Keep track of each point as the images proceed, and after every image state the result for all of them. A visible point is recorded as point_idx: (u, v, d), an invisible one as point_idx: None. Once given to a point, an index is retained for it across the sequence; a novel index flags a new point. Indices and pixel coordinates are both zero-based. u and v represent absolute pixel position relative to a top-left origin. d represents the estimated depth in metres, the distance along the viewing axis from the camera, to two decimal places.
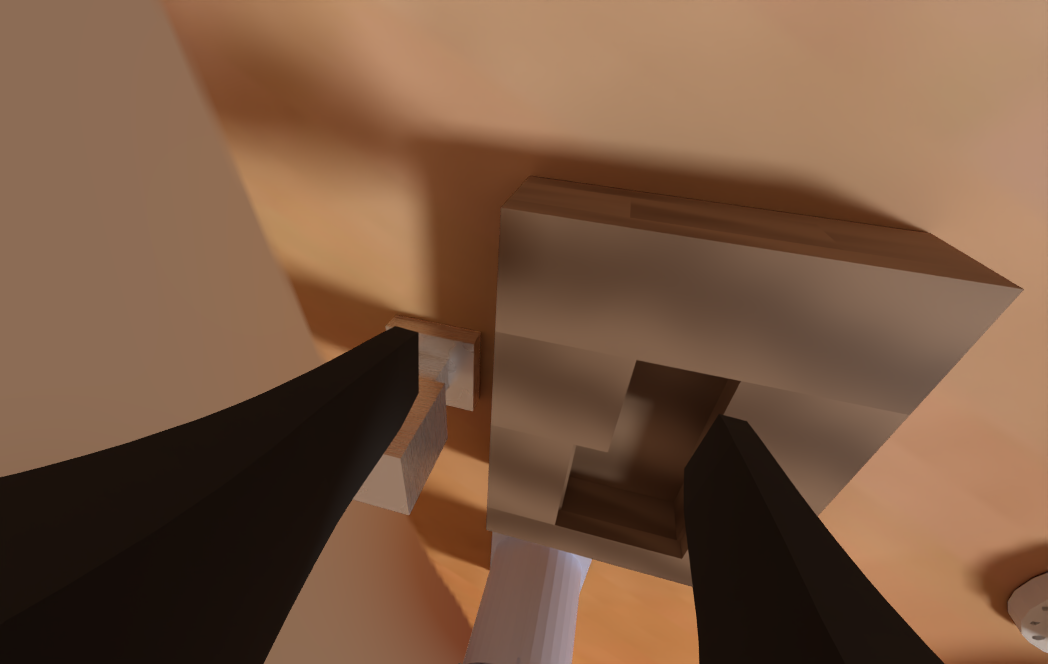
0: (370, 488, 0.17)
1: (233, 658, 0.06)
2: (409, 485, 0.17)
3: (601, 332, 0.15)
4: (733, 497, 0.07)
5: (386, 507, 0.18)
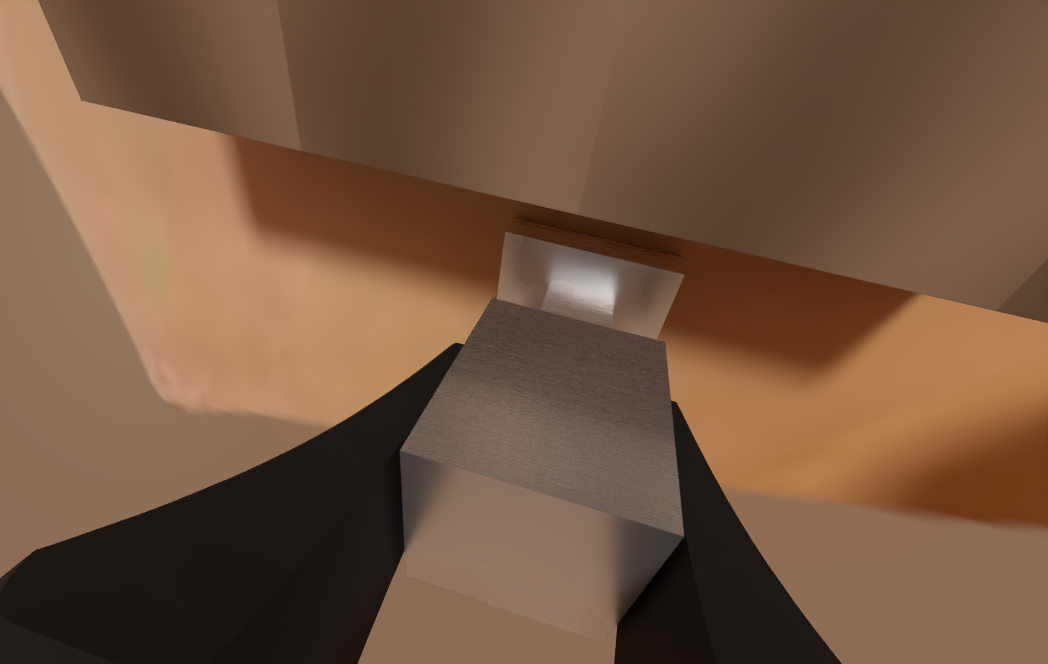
0: (561, 564, 0.06)
1: None
2: (557, 476, 0.06)
3: None
4: None
5: (648, 572, 0.06)
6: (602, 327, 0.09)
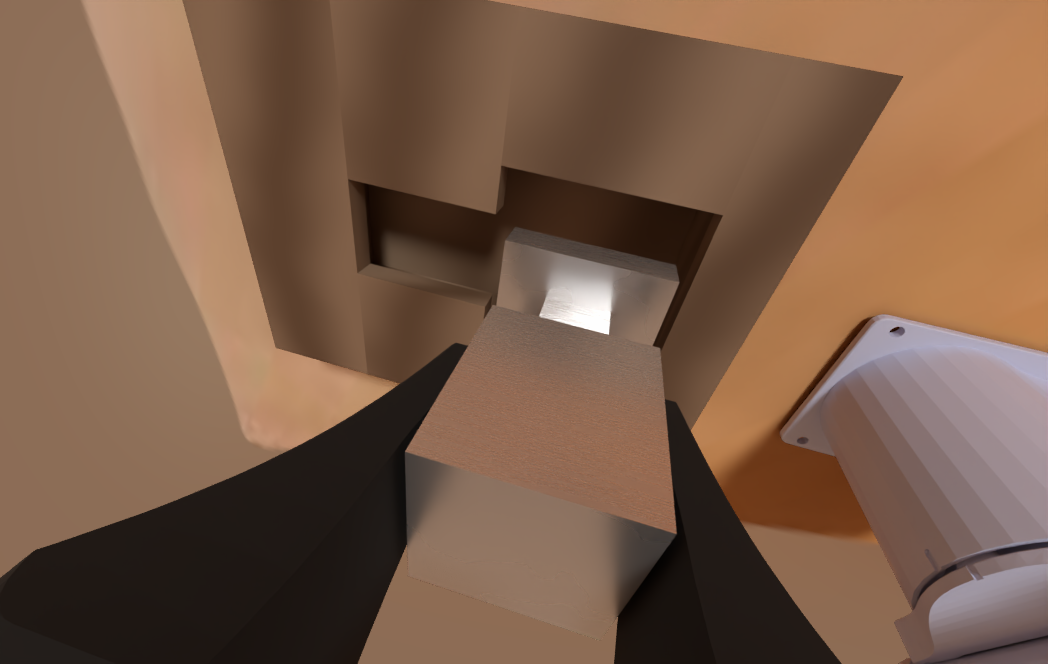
0: (559, 562, 0.07)
1: None
2: (555, 477, 0.06)
3: (341, 299, 0.18)
4: None
5: (643, 568, 0.06)
6: (599, 333, 0.09)
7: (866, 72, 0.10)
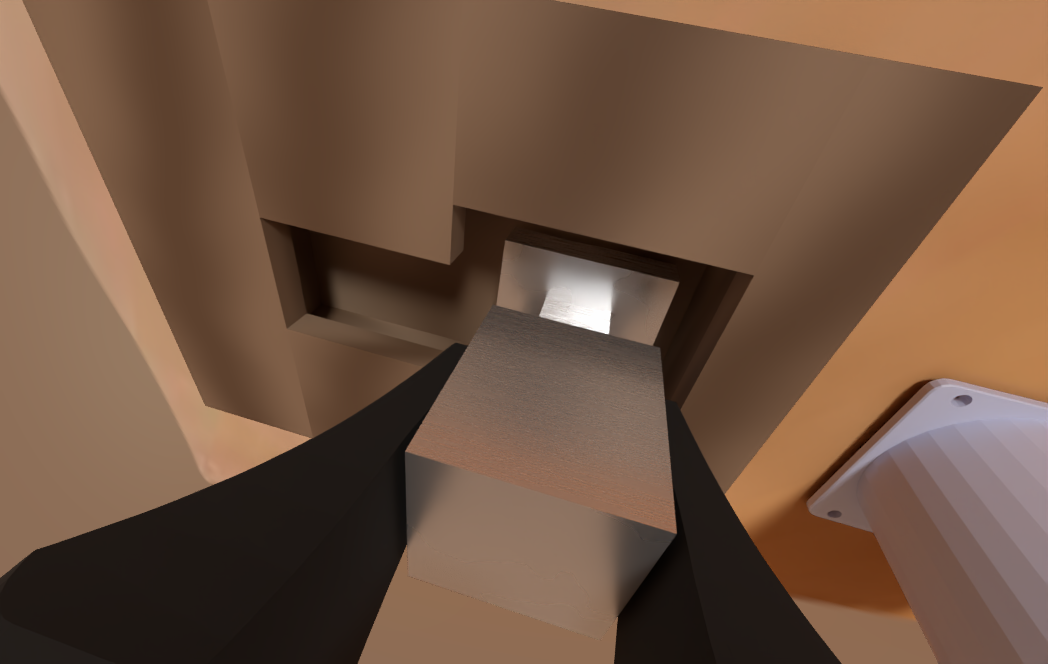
0: (559, 562, 0.07)
1: None
2: (555, 477, 0.06)
3: (271, 356, 0.14)
4: None
5: (642, 568, 0.06)
6: (599, 333, 0.09)
7: (983, 81, 0.06)
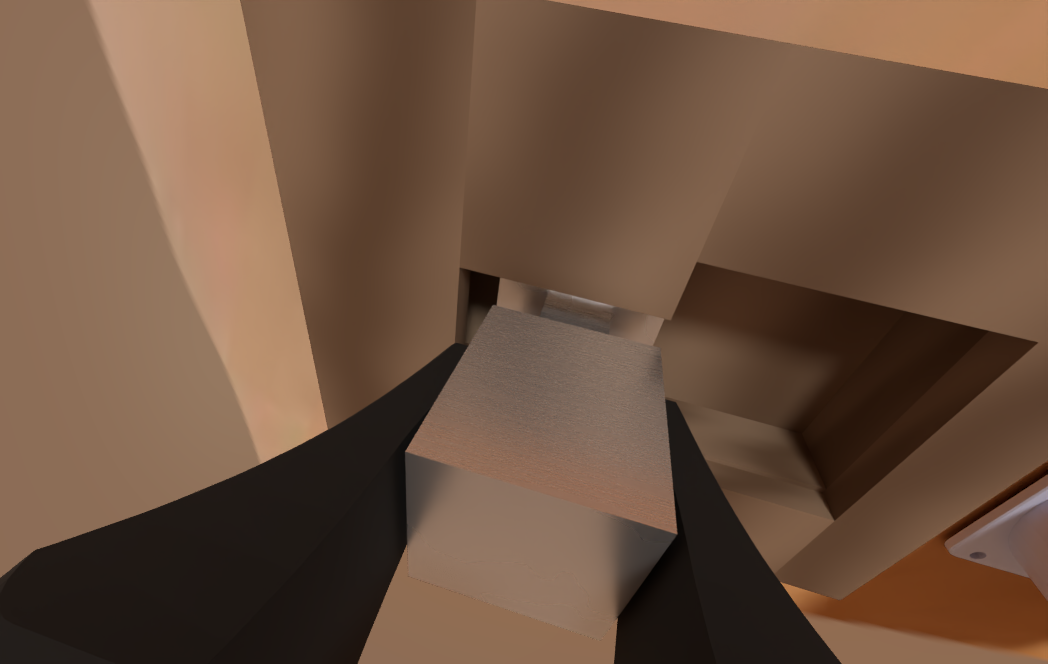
0: (559, 562, 0.07)
1: None
2: (555, 477, 0.06)
3: None
4: None
5: (643, 569, 0.06)
6: (599, 333, 0.09)
7: None
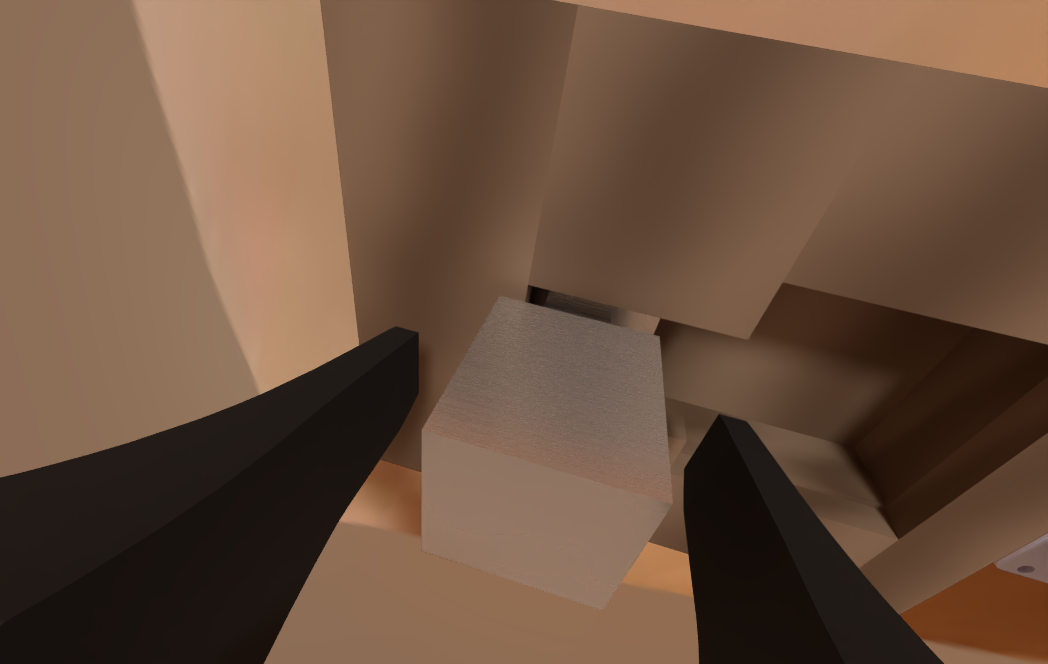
0: (564, 534, 0.07)
1: (233, 658, 0.06)
2: (560, 453, 0.06)
3: None
4: (733, 498, 0.07)
5: (642, 538, 0.07)
6: (601, 323, 0.10)
7: None
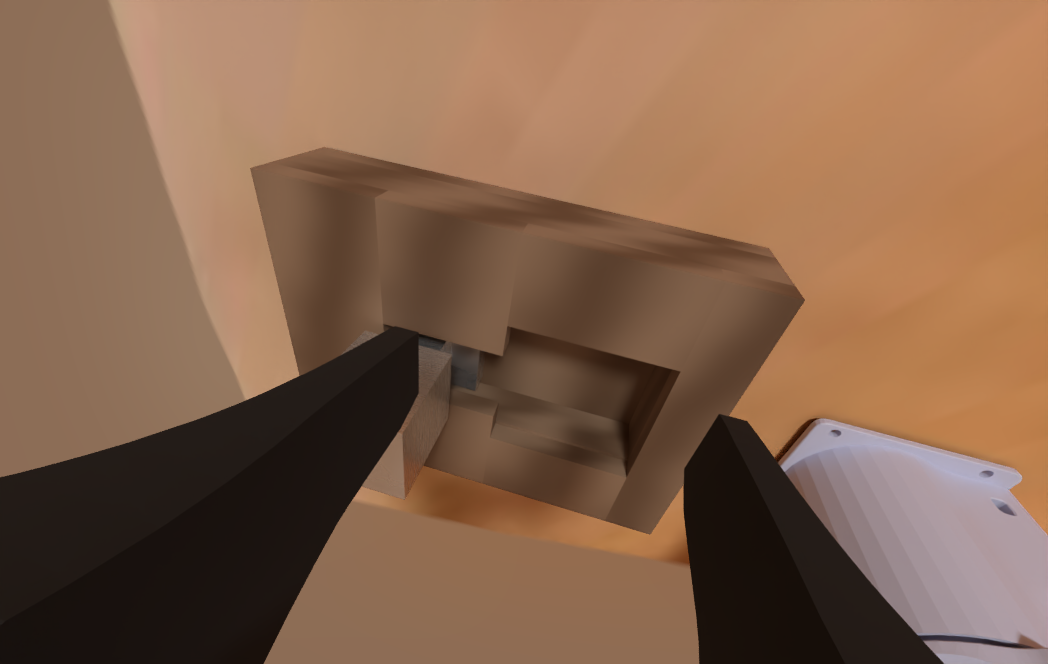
0: None
1: (233, 658, 0.06)
2: None
3: None
4: (733, 498, 0.07)
5: (400, 453, 0.14)
6: (420, 346, 0.17)
7: (778, 295, 0.13)
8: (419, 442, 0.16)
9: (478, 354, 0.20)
